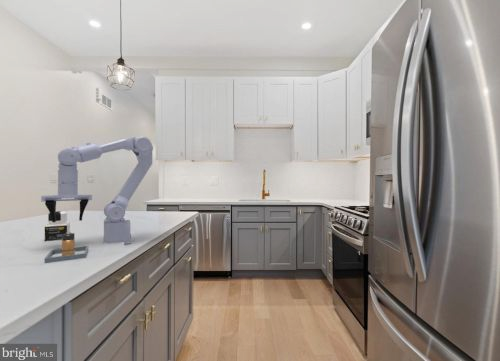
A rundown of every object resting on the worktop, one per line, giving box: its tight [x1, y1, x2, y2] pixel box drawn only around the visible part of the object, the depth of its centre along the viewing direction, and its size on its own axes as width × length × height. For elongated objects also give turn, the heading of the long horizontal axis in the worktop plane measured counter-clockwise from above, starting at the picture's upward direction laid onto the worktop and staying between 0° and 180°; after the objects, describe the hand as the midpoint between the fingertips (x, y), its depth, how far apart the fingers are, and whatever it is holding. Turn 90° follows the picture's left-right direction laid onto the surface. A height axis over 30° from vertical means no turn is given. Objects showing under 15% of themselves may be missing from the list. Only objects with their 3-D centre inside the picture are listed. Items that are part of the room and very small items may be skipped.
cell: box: [61, 231, 76, 256], centre depth 79 cm, size 3×3×8 cm
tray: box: [44, 245, 89, 264], centre depth 79 cm, size 10×10×2 cm
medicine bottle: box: [44, 210, 71, 242], centre depth 101 cm, size 7×7×12 cm
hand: (67, 221), depth 89 cm, fingers open, 7 cm apart
